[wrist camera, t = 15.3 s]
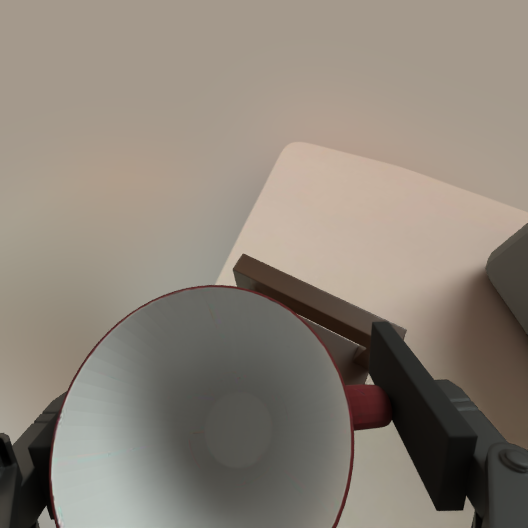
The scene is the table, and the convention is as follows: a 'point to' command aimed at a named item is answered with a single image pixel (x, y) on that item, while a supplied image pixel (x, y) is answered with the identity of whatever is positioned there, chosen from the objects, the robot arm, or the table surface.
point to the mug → (209, 420)
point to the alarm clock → (512, 274)
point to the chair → (318, 315)
